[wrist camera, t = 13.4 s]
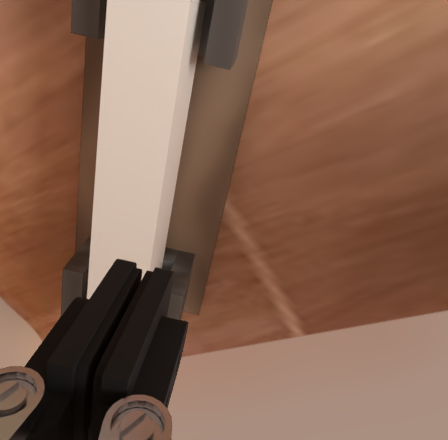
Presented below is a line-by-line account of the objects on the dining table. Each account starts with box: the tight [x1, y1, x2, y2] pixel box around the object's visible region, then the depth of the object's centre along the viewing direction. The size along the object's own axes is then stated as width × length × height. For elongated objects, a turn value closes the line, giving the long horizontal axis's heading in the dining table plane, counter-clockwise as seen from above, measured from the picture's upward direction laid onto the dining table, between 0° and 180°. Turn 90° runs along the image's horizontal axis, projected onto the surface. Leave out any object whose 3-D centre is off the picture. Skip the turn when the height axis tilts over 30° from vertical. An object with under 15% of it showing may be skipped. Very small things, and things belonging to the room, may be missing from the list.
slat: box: [87, 0, 206, 299], centre depth 27 cm, size 22×4×6 cm, turn 168°
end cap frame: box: [61, 0, 273, 320], centre depth 29 cm, size 12×29×8 cm, turn 168°
